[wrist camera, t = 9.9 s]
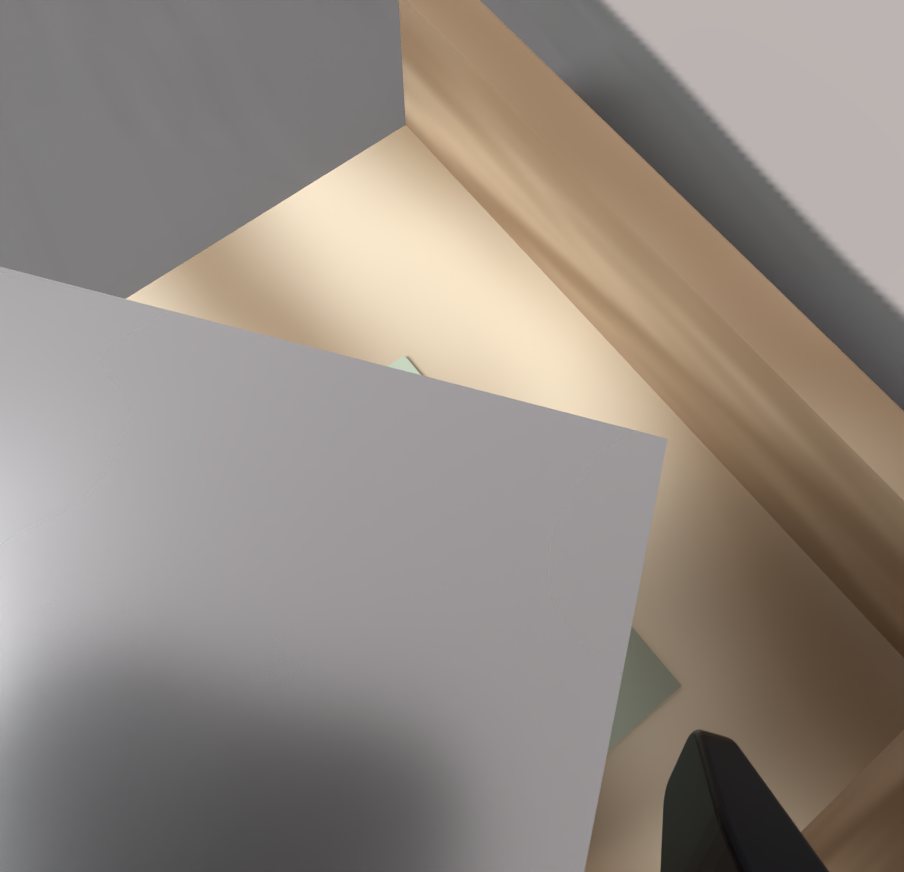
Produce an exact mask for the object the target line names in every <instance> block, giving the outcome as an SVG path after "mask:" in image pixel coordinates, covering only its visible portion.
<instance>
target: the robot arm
mask: <svg viewBox="0 0 904 872" xmlns="http://www.w3.org/2000/svg"><path fill="white" fill-rule="evenodd" d="M660 872H829V870H828V869H827V868H826V866H825V865H824V863H823V862H822V861H821V859H820V858H819V857H818V855H817V854H816V852H815V851H814V850H813V848H812V847H811V845H810V844H809V843H808V841H807V840H806V839H805V837H804V836H803V834H802V833H801V832H800V830H799V829H798V828H797V826H796V825H795V823H794V822H793V821H792V819H791V818H790V816H789V815H788V814H787V812H786V811H785V810H784V808H783V807H782V805H781V804H780V803H779V801H778V800H777V799H776V797H775V796H774V794H773V793H772V792H771V790H770V789H769V787H768V786H767V785H766V783H765V782H764V781H763V779H762V778H761V776H760V775H759V774H758V772H757V771H756V770H755V768H754V767H753V765H752V764H751V763H750V761H749V760H748V758H747V757H746V756H745V754H744V753H743V752H742V750H741V749H740V747H739V746H738V745H737V744H736V743H735V742H734V741H733V740H732V739H730V738H728V737H725V736H722V735H718V734H715V733H711V732H708V731H704V730H700V729H698V730H695V731H693V732H692V733H691V734H690V735H689V737H688V738H687V740H686V743H685V745H684V747H683V749H682V751H681V754H680V756H679V758H678V760H677V762H676V765H675V767H674V769H673V771H672V773H671V776H670V778H669V780H668V783H667V786H666V790H665V795H664V803H663V823H662V845H661V868H660Z"/></svg>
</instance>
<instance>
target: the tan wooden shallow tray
mask: <svg viewBox="0 0 904 872" xmlns="http://www.w3.org/2000/svg"><path fill="white" fill-rule="evenodd" d="M399 11H400V29H401V47H402V65H403V82H404V100H405V118H406V125H405V126H403V127H402V128H400V129H398V130H397V131H395V132H394V133H392V134H390V135H389V136H387V137H386V138H384V139H382V140H381V141H379V142H378V143H376V144H374V145H373V146H371V147H369V148H368V149H366V150H365V151H363V152H361V153H360V154H358V155H357V156H355V157H353V158H352V159H350V160H349V161H347V162H345V163H344V164H342V165H341V166H339V167H337V168H336V169H334V170H332V171H331V172H329V173H328V174H326V175H324V176H323V177H321V178H320V179H318V180H316V181H315V182H313V183H312V184H310V185H308V186H307V187H305V188H303V189H302V190H300V191H299V192H297V193H295V194H294V195H292V196H291V197H289V198H287V199H286V200H284V201H283V202H281V203H279V204H278V205H276V206H275V207H273V208H271V209H270V210H268V211H266V212H265V213H263V214H262V215H260V216H258V217H257V218H255V219H254V220H252V221H250V222H249V223H247V224H246V225H244V226H242V227H241V228H239V229H237V230H236V231H234V232H233V233H231V234H229V235H228V236H226V237H225V238H223V239H221V240H220V241H218V242H217V243H215V244H213V245H212V246H210V247H208V248H207V249H205V250H204V251H202V252H200V253H199V254H197V255H196V256H194V257H192V258H191V259H189V260H188V261H186V262H184V263H183V264H181V265H180V266H178V267H176V268H175V269H173V270H171V271H170V272H168V273H167V274H165V275H163V276H162V277H160V278H159V279H157V280H155V281H154V282H152V283H151V284H149V285H147V286H146V287H144V288H142V289H141V290H139V291H138V292H136V293H134V294H133V295H131V296H130V297H128V298H126V299H127V300H131V301H135V302H139V303H143V304H147V305H151V306H154V307H158V308H162V309H166V310H170V311H174V312H178V313H182V314H186V315H189V316H193V317H197V318H201V319H205V320H209V321H213V322H217V323H220V324H224V325H228V326H232V327H236V328H240V329H244V330H248V331H252V332H255V333H259V334H263V335H267V336H271V337H275V338H279V339H283V340H286V341H290V342H294V343H298V344H302V345H306V346H310V347H314V348H318V349H321V350H325V351H329V352H333V353H337V354H341V355H345V356H349V357H353V358H356V359H360V360H364V361H368V362H372V363H376V364H380V365H384V366H387V367H391V368H395V369H399V370H403V371H407V372H411V373H415V374H419V375H422V376H426V377H430V378H434V379H438V380H442V381H446V382H450V383H453V384H457V385H461V386H465V387H469V388H473V389H477V390H481V391H485V392H488V393H492V394H496V395H500V396H504V397H508V398H512V399H516V400H519V401H523V402H527V403H531V404H535V405H539V406H543V407H547V408H551V409H554V410H558V411H562V412H566V413H570V414H574V415H578V416H582V417H585V418H589V419H593V420H597V421H601V422H605V423H609V424H613V425H617V426H620V427H624V428H628V429H632V430H636V431H640V432H644V433H648V434H651V435H655V436H659V437H663V438H667V439H668V440H667V446H666V451H665V456H664V461H663V466H662V472H661V477H660V482H659V487H658V492H657V497H656V503H655V508H654V513H653V518H652V523H651V529H650V534H649V539H648V544H647V549H646V554H645V560H644V565H643V570H642V575H641V580H640V586H639V591H638V596H637V601H636V606H635V611H634V617H633V622H632V627H631V632H630V637H629V643H628V648H627V653H626V658H625V663H624V668H623V674H622V679H621V684H620V689H619V694H618V700H617V705H616V710H615V715H614V720H613V725H612V731H611V736H610V741H609V746H608V751H607V757H606V762H605V767H604V772H603V777H602V782H601V788H600V793H599V798H598V803H597V808H596V814H595V819H594V824H593V829H592V834H591V839H590V845H589V850H588V855H587V860H586V865H585V871H584V872H660V868H661V845H662V823H663V803H664V795H665V790H666V786H667V783H668V780H669V778H670V776H671V773H672V771H673V769H674V767H675V765H676V762H677V760H678V758H679V756H680V754H681V751H682V749H683V747H684V745H685V743H686V740H687V738H688V737H689V735H690V734H691V733H692V732H693V731H695V730H698V729H700V730H704V731H708V732H711V733H715V734H718V735H722V736H725V737H728V738H730V739H732V740H733V741H734V742H735V743H736V744H737V745H738V746H739V747H740V749H741V750H742V752H743V753H744V754H745V756H746V757H747V758H748V760H749V761H750V763H751V764H752V765H753V767H754V768H755V770H756V771H757V772H758V774H759V775H760V776H761V778H762V779H763V781H764V782H765V783H766V785H767V786H768V787H769V789H770V790H771V792H772V793H773V794H774V796H775V797H776V799H777V800H778V801H779V803H780V804H781V805H782V807H783V808H784V810H785V811H786V812H787V814H788V815H789V816H790V818H791V819H792V821H793V822H794V823H795V825H796V826H797V828H798V829H799V830H800V832H801V833H802V834H803V836H804V837H805V839H806V840H807V841H808V843H809V844H810V845H811V847H812V848H813V850H814V851H815V852H816V854H817V855H818V857H819V858H820V859H821V861H822V862H823V863H824V865H825V866H826V868H827V869H828V870H829V872H904V411H903V410H902V409H901V408H900V407H899V406H898V405H897V404H896V403H895V402H894V401H893V400H892V399H891V398H890V397H889V396H887V395H886V394H885V393H884V392H883V391H882V390H881V389H880V388H879V387H878V386H877V385H876V384H875V383H874V382H873V381H872V380H871V379H870V378H869V377H868V376H867V375H866V374H865V373H864V372H863V371H862V370H861V369H860V368H859V367H858V366H857V365H856V364H854V363H853V362H852V361H851V360H850V359H849V358H848V357H847V356H846V355H845V354H844V353H843V352H842V351H841V350H840V349H839V348H838V347H837V346H836V345H835V344H834V343H833V342H832V341H831V340H830V339H829V338H828V337H827V336H826V335H825V334H824V333H822V332H821V331H820V330H819V329H818V328H817V327H816V326H815V325H814V324H813V323H812V322H811V321H810V320H809V319H808V318H807V317H806V316H805V315H804V314H803V313H802V312H801V311H800V310H799V309H798V308H797V307H796V306H795V305H794V304H793V303H792V302H790V301H789V300H788V299H787V298H786V297H785V296H784V295H783V294H782V293H781V292H780V291H779V290H778V289H777V288H776V287H775V286H774V285H773V284H772V283H771V282H770V281H769V280H768V279H767V278H766V277H765V276H764V275H763V274H762V273H761V272H760V271H758V270H757V269H756V268H755V267H754V266H753V265H752V264H751V263H750V262H749V261H748V260H747V259H746V258H745V257H744V256H743V255H742V254H741V253H740V252H739V251H738V250H737V249H736V248H735V247H734V246H733V245H732V244H731V243H730V242H729V241H728V240H727V239H725V238H724V237H723V236H722V235H721V234H720V233H719V232H718V231H717V230H716V229H715V228H714V227H713V226H712V225H711V224H710V223H709V222H708V221H707V220H706V219H705V218H704V217H703V216H702V215H701V214H700V213H699V212H698V211H697V210H696V209H695V208H693V207H692V206H691V205H690V204H689V203H688V202H687V201H686V200H685V199H684V198H683V197H682V196H681V195H680V194H679V193H678V192H677V191H676V190H675V189H674V188H673V187H672V186H671V185H670V184H669V183H668V182H667V181H666V180H665V179H664V178H663V177H661V176H660V175H659V174H658V173H657V172H656V171H655V170H654V169H653V168H652V167H651V166H650V165H649V164H648V163H647V162H646V161H645V160H644V159H643V158H642V157H641V156H640V155H639V154H638V153H637V152H636V151H635V150H634V149H633V148H632V147H631V146H629V145H628V144H627V143H626V142H625V141H624V140H623V139H622V138H621V137H620V136H619V135H618V134H617V133H616V132H615V131H614V130H613V129H612V128H611V127H610V126H609V125H608V124H607V123H606V122H605V121H604V120H603V119H602V118H601V117H600V116H599V115H598V114H596V113H595V112H594V111H593V110H592V109H591V108H590V107H589V106H588V105H587V104H586V103H585V102H584V101H583V100H582V99H581V98H580V97H579V96H578V95H577V94H576V93H575V92H574V91H573V90H572V89H571V88H570V87H569V86H568V85H567V84H566V83H564V82H563V81H562V80H561V79H560V78H559V77H558V76H557V75H556V74H555V73H554V72H553V71H552V70H551V69H550V68H549V67H548V66H547V65H546V64H545V63H544V62H543V61H542V60H541V59H540V58H539V57H538V56H537V55H536V54H535V53H534V52H532V51H531V50H530V49H529V48H528V47H527V46H526V45H525V44H524V43H523V42H522V41H521V40H520V39H519V38H518V37H517V36H516V35H515V34H514V33H513V32H512V31H511V30H510V29H509V28H508V27H507V26H506V25H505V24H504V23H503V22H502V21H501V20H499V19H498V18H497V17H496V16H495V15H494V14H493V13H492V12H491V11H490V10H489V9H488V8H487V7H486V6H485V5H484V4H483V3H482V2H481V1H480V0H399Z"/></svg>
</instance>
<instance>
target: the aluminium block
mask: <svg viewBox="0 0 904 872" xmlns="http://www.w3.org/2000/svg"><path fill="white" fill-rule="evenodd" d="M667 440H668V439H667V438H663V437H659V436H655V435H651V434H648V433H644V432H640V431H636V430H632V429H628V428H624V427H620V426H617V425H613V424H609V423H605V422H601V421H597V420H593V419H589V418H585V417H582V416H578V415H574V414H570V413H566V412H562V411H558V410H554V409H551V408H547V407H543V406H539V405H535V404H531V403H527V402H523V401H519V400H516V399H512V398H508V397H504V396H500V395H496V394H492V393H488V392H485V391H481V390H477V389H473V388H469V387H465V386H461V385H457V384H453V383H450V382H446V381H442V380H438V379H434V378H430V377H426V376H422V375H419V374H415V373H411V372H407V371H403V370H399V369H395V368H391V367H387V366H384V365H380V364H376V363H372V362H368V361H364V360H360V359H356V358H353V357H349V356H345V355H341V354H337V353H333V352H329V351H325V350H321V349H318V348H314V347H310V346H306V345H302V344H298V343H294V342H290V341H286V340H283V339H279V338H275V337H271V336H267V335H263V334H259V333H255V332H252V331H248V330H244V329H240V328H236V327H232V326H228V325H224V324H220V323H217V322H213V321H209V320H205V319H201V318H197V317H193V316H189V315H186V314H182V313H178V312H174V311H170V310H166V309H162V308H158V307H154V306H151V305H147V304H143V303H139V302H135V301H131V300H127V299H123V298H120V297H116V296H112V295H108V294H104V293H100V292H96V291H92V290H88V289H85V288H81V287H77V286H73V285H69V284H65V283H61V282H57V281H54V280H50V279H46V278H42V277H38V276H34V275H30V274H26V273H22V272H19V271H15V270H11V269H7V268H3V267H0V872H584V871H585V865H586V860H587V855H588V850H589V845H590V839H591V834H592V829H593V824H594V819H595V814H596V808H597V803H598V798H599V793H600V788H601V782H602V777H603V772H604V767H605V762H606V757H607V751H608V746H609V741H610V736H611V731H612V725H613V720H614V715H615V710H616V705H617V700H618V694H619V689H620V684H621V679H622V674H623V668H624V663H625V658H626V653H627V648H628V643H629V637H630V632H631V627H632V622H633V617H634V611H635V606H636V601H637V596H638V591H639V586H640V580H641V575H642V570H643V565H644V560H645V554H646V549H647V544H648V539H649V534H650V529H651V523H652V518H653V513H654V508H655V503H656V497H657V492H658V487H659V482H660V477H661V472H662V466H663V461H664V456H665V451H666V446H667Z"/></svg>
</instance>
